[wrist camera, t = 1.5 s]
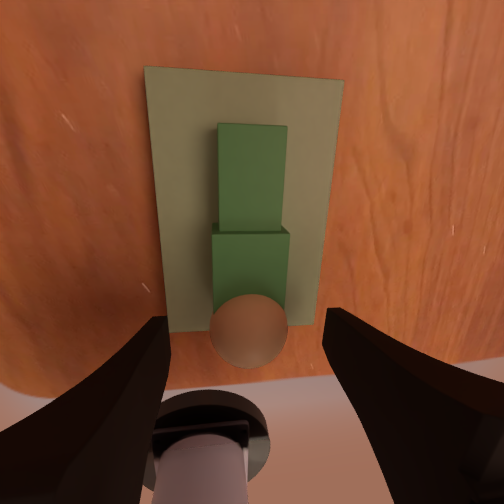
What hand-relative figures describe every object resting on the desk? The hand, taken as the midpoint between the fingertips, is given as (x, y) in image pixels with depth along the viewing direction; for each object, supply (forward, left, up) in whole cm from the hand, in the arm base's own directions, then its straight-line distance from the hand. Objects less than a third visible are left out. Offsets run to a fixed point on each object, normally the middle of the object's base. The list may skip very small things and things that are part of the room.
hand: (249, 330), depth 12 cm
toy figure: (+3, 0, -2) cm, 4 cm away
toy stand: (+4, 0, -3) cm, 6 cm away
